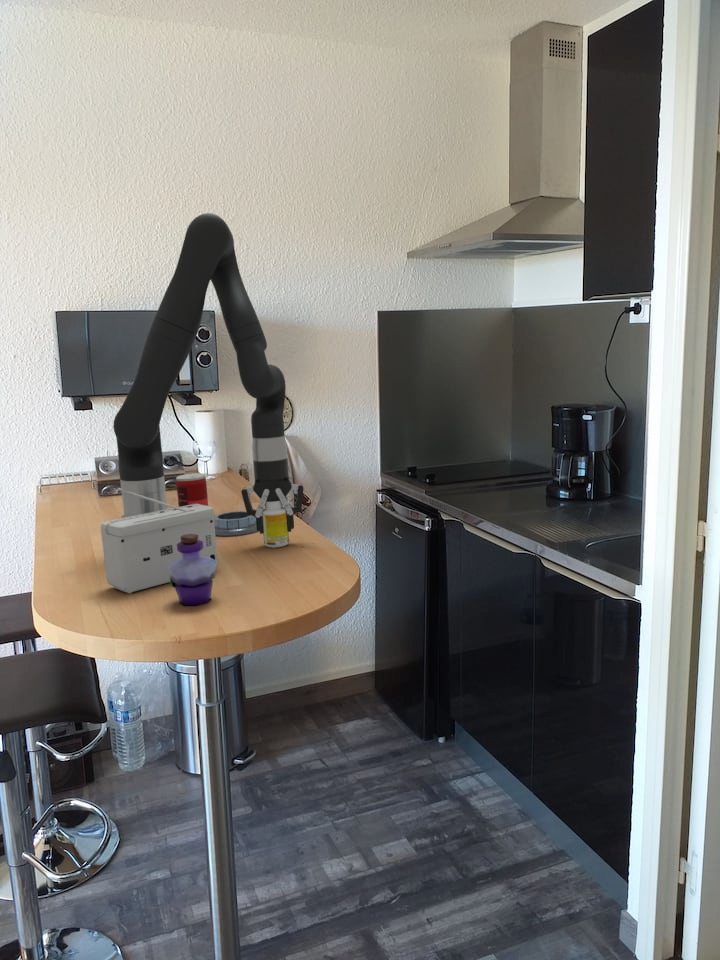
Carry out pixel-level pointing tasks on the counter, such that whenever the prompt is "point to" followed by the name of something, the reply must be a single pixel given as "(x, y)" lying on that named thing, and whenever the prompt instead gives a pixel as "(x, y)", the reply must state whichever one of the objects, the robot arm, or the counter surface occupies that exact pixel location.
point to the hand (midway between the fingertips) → (275, 531)
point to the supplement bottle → (275, 524)
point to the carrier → (234, 524)
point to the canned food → (192, 489)
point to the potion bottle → (192, 572)
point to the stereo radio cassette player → (153, 544)
